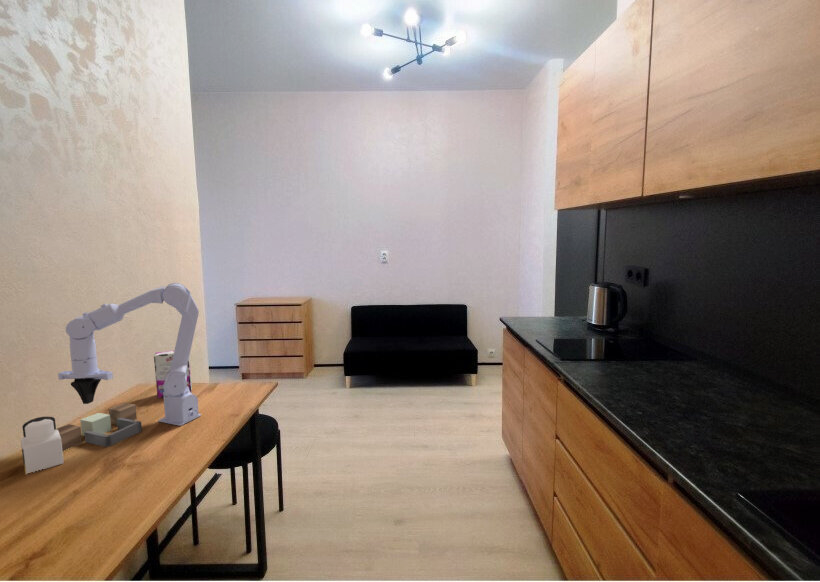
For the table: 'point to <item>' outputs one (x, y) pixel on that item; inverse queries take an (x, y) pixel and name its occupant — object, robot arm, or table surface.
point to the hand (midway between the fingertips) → (88, 402)
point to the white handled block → (41, 444)
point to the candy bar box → (162, 368)
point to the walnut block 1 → (70, 436)
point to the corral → (114, 433)
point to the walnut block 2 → (122, 412)
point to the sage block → (96, 423)
